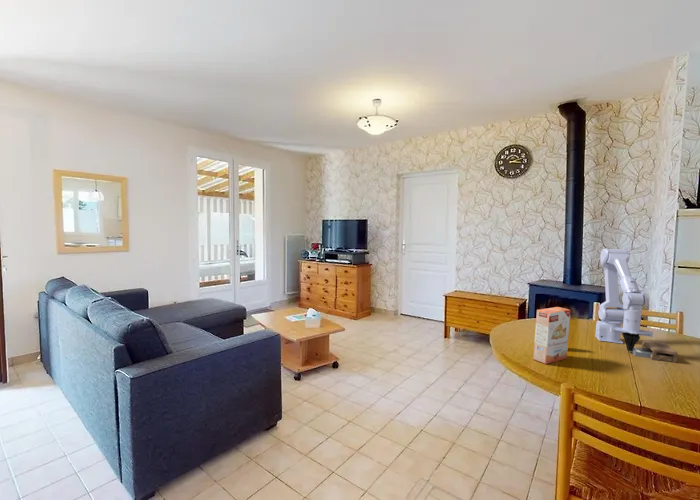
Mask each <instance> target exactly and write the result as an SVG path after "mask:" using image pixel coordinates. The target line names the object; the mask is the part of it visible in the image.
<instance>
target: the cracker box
mask: <svg viewBox="0 0 700 500" xmlns="http://www.w3.org/2000/svg"><path fill="white" fill-rule="evenodd" d="M571 312H572V311H571V309H568V308H565V307H560V306H554V307H549V308H541V309H536V318H535V331H534V341H533V342H534V343H533V344H534V345H533V354H532V357H533V360H534V361H537V362H539V363H542V364H544V365H548V364H551V363H555V362H559V361H563V360H566V359H567V355H568V350H567V348H568V346H569V345H568V344H569V343H568V342H569V334H570V333H569V332H570V321H571Z"/></svg>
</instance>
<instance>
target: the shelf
mask: <svg viewBox="0 0 700 500" xmlns="http://www.w3.org/2000/svg"><path fill="white" fill-rule="evenodd" d="M640 348H645V349H651V350H652V351H653V352H652V354H651V358H649V359H650V360H652V361H665V362H672V363H674V364H677V361H678V352H677V351H676V350H675V349H673V348H672V347H670V346H669V345H668V344H666V343H665V342H658V341H648V340H642V344H641V347H640ZM657 352H659V353H665V354H666V355H668V356H666V355H658V354H657Z"/></svg>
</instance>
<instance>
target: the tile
mask: <svg viewBox="0 0 700 500" xmlns="http://www.w3.org/2000/svg"><path fill="white" fill-rule="evenodd" d="M629 352H630V353H631V354H632V355H634V356H635V357H640V358H647V359H650V358H651V354H652V352H653V351H652V350H651V349H645V348H641V347H638V346H637V347H636V346H634V348H633V350H632V351H629ZM657 354H658V355H666V354H665V353H659V352H657ZM666 356H668V355H666Z"/></svg>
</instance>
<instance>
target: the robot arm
mask: <svg viewBox="0 0 700 500" xmlns="http://www.w3.org/2000/svg"><path fill="white" fill-rule="evenodd" d="M630 258H631V256H630V251H629V250H628V249H627V248H607V247H606V248H603V249H602V250H601V252H600V256H599V259H600V266H602V267H603V269H604V270H603V272H604V290H605V300H604V302H602V303H601V304H600V305H598V319H600V320H597V321H596V324H595V334H594V336H595V338H596V339H597V340H598V341H600V342H606V343H607V342H608V343H616V344H624V342H625V345H626V346H625V347H626V350H627V351H628V352H630V351H632V350H633V348H634V347H636V346H635V345H636V344H637V343H638V342H639V340H640V339H641V336H642V337H643V336H644V337H649V338H654V332H653V331H650V330H644V329H641V319H642V312H643V311H642V309H643V307H644V306H645V305H646V302H647V299H646V295H645V293H643V292H642V290H640V289H639V286H638V283H637V281H636V279H635V277H632V275H631V271H630V268H629V264H628V263H629V261H630ZM618 275H619V277H620V280H618ZM618 281H619V282H618ZM619 286H620V287H621V290H622V297H621V300H622V303H621V301H620V299H619ZM621 335H622V337H623V339H624V342H623V341H622V340H621Z"/></svg>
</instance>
